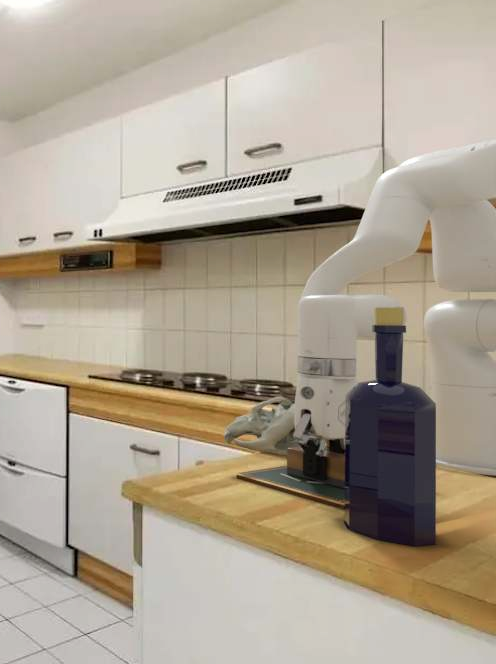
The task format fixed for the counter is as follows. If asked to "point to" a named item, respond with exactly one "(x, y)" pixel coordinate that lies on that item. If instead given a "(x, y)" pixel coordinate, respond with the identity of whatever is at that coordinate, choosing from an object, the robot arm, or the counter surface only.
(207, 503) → the counter surface
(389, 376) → the bottle
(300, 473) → the eraser
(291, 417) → the animal skull
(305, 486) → the chalkboard
